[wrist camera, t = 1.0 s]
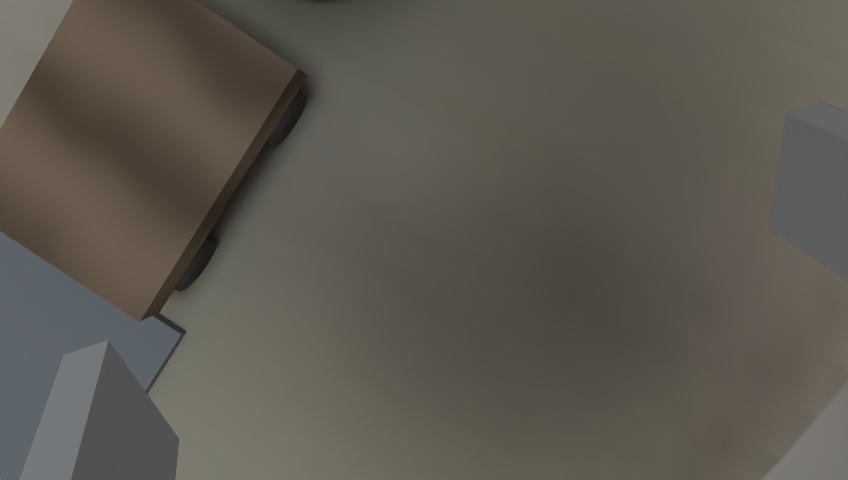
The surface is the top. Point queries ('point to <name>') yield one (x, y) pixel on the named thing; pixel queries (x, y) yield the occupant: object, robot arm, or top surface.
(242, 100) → the brown toy cart
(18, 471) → the pad
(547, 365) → the top surface
